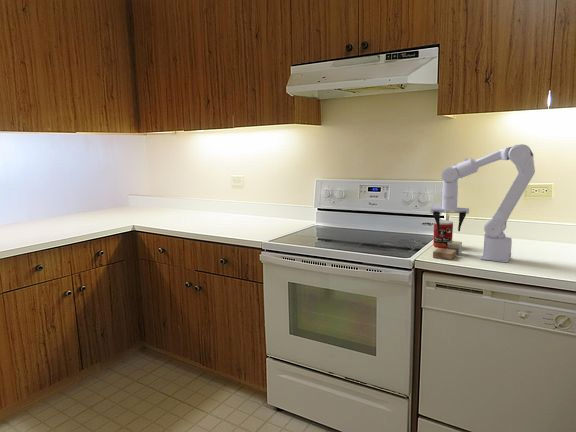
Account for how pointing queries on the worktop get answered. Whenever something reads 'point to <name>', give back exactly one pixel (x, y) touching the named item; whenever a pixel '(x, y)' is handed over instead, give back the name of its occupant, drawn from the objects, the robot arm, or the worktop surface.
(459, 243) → the tea tin
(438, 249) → the walnut block
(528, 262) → the worktop surface
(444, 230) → the canned food
